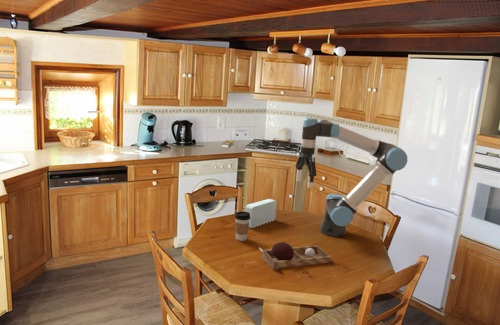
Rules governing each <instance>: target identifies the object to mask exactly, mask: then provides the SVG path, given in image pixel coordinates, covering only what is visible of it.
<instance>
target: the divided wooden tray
mask: <svg viewBox="0 0 500 325" xmlns="http://www.w3.org/2000/svg"><path fill="white" fill-rule="evenodd" d="M292 248H293V250H294V256H293V258H292V259H291V260H282V261H281V260H279V259H277V258H276V257H275V256H274V254H273V252H272V248H271V249H262V250H263V253H262V252H261V253H262V254H261V259H263V261H264V262H265V263H266V264H267V265H268V266H269V267H270V268H271V270H272V271H276V270H281V268H288V267H289V268H290V267H297V266H298V267H299V266H309V265H317V264H327V263H328V264H329V263H331V260H332V257H331V255H330V254H328V253H327V252H326V251H325V250H324V249H322V248H321V247H320V246H319V245H308V246H298V247H296V246H295V247H292ZM308 248H312V249H313V250H314V251H315V255H314V257H313V258H308V257H306V255H305V251H306V249H308Z"/></svg>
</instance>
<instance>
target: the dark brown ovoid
mask: <svg viewBox="0 0 500 325" xmlns="http://www.w3.org/2000/svg"><path fill="white" fill-rule="evenodd" d="M293 248H294V247H292V245H291V244H289V243H287V242H284V241H280V242H276V243H275V244H274V245H273V246H272V248H271V249H272V252H273V254H274V256H275V257H276V258H277V259H279V260H281V261H282V260H291V259H292V258H293V256H294V250H293Z"/></svg>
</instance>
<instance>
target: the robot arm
mask: <svg viewBox="0 0 500 325" xmlns="http://www.w3.org/2000/svg"><path fill="white" fill-rule="evenodd" d="M302 124H303V126H302V134H301V147H300V152H299V156H298V159H297V161H296V163H295V168H296V170H297V171H296V182H302V177H303V168H304V166H305V165H306V166H307V170H308V178H307V179H308V181H307V188H308V189H313V187H314V179H315V178H314V177H316V176H317V169H316V168H317V166H316V158H315V157H313V155H315V153H316V152H315V151H316V148H315V147H316V144H317V142H316V140H317V137H321V138H323V137H324V138H330V139H331V138H332V139H335V140H337V141H341V142H343V143H345V144H348V145H349V146H352V147H355V148H358V149H359V150H362V151H364V152H366V153H369V155H370V156H372V157H373V158H377V159H376V160H375V165H374V166H373V167H372V168H371V170H369V172H368V173H366V174H365V176H363V177H362V178H361V180H360V181H359V182H358V183H357V184H356V185H355V186H354V187H353V189H351V190H350V191H349V193H348V194H346V195H343V194H338V193H337V194H336V193H329V194H328V195H326V198H325V207H324V208H325V209H324V215H323V220H322V222H321V224H320V226H319V232H320V233H322V234H323V235H325V236H328V237H329V236H330V237H336V238H337V237H344V236H345V235H346V232H347V230H346V226H349V225H350V224H351V223H352V221H353V219H354V216H355V214H356V213H357V212H358V211H359V209H358V207H359V206H360V205H361V204H362V203H363V202H364V201H365V200H366V199H367V198H368V197H369V195H371V194H372V193H373V191H374V190H375V189H376V188H378V186H379V185H380V184H382V182H383V181H384V180H385V179H386V178H387V177H388V176H393V175H394V174H395V173H396V172H397V171H401V170H403V169H404V168H405V167H406V165H407V164H408V155H407V152H405V150H404V149H402V148H401V147H399V146H396V145H395V144H393V143H388V142H385V141H382V140H379V139H375V140H374V139H372V138H369V137H368V136H365V135H363V134H360V133H357V132H355V131H352V130H350V129H348V128H345V127H343V126H341V125H339V124H338V123H334V122H332V121H328V120H327V119H320V120H318V118H314V117H305V118H304V119H303V123H302Z"/></svg>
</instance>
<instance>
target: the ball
mask: <svg viewBox="0 0 500 325" xmlns="http://www.w3.org/2000/svg"><path fill="white" fill-rule="evenodd" d="M305 255H306V257H308V258H313V257H314V255H315V251H314V250H313V249H312V248H308V249H306V251H305Z"/></svg>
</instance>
